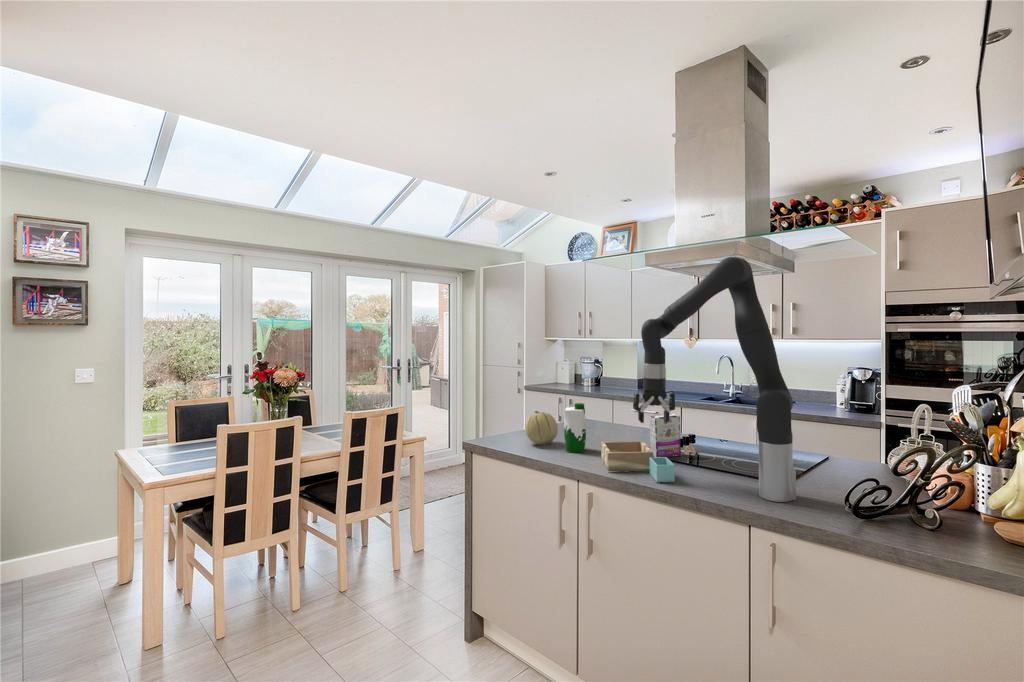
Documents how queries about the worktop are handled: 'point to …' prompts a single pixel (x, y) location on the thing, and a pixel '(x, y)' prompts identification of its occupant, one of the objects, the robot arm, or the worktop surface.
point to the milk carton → (575, 428)
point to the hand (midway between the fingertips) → (653, 422)
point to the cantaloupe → (541, 428)
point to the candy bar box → (665, 435)
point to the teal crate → (662, 469)
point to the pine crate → (626, 456)
